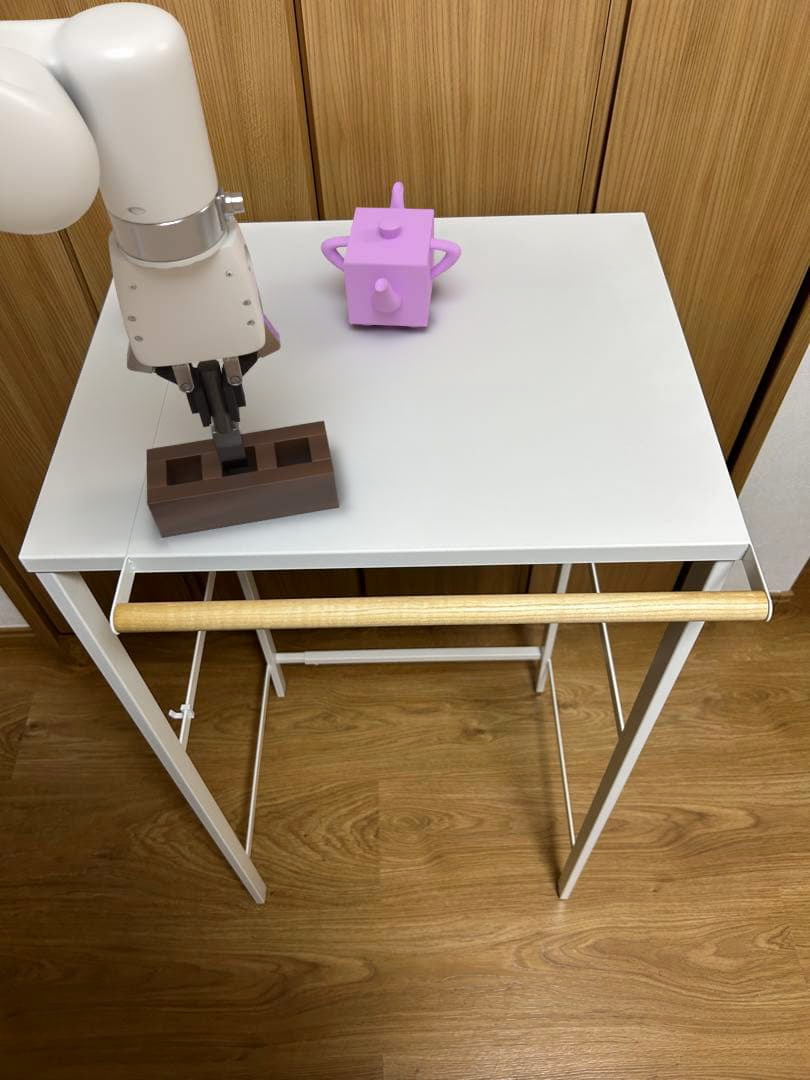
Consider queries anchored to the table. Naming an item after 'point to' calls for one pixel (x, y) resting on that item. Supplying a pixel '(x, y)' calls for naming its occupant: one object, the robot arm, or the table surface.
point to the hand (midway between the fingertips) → (220, 412)
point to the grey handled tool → (222, 418)
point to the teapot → (390, 263)
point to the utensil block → (241, 480)
